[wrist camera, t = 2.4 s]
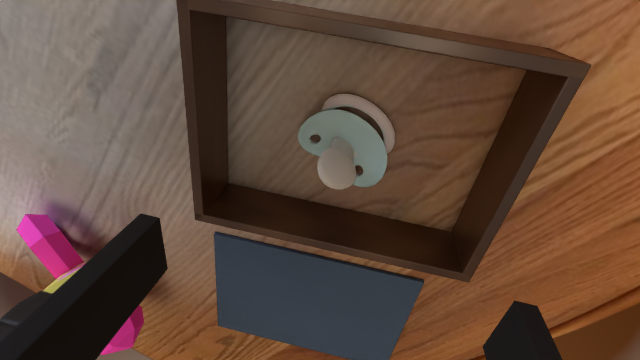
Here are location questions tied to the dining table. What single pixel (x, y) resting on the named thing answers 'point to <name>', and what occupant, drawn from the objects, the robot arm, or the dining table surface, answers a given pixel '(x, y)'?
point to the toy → (69, 270)
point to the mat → (311, 299)
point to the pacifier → (348, 142)
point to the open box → (350, 226)
